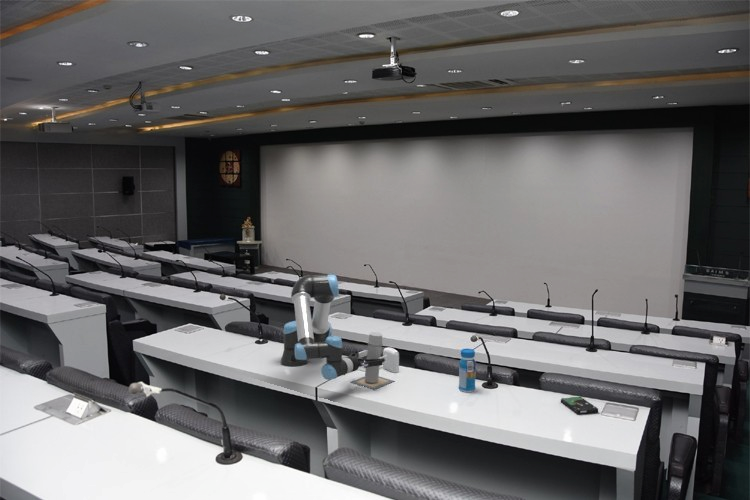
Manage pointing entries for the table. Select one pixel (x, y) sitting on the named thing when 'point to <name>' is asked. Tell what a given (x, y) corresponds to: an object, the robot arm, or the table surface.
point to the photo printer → (391, 360)
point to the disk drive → (579, 405)
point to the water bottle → (373, 356)
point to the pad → (373, 386)
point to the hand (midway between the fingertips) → (376, 355)
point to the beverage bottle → (467, 370)
